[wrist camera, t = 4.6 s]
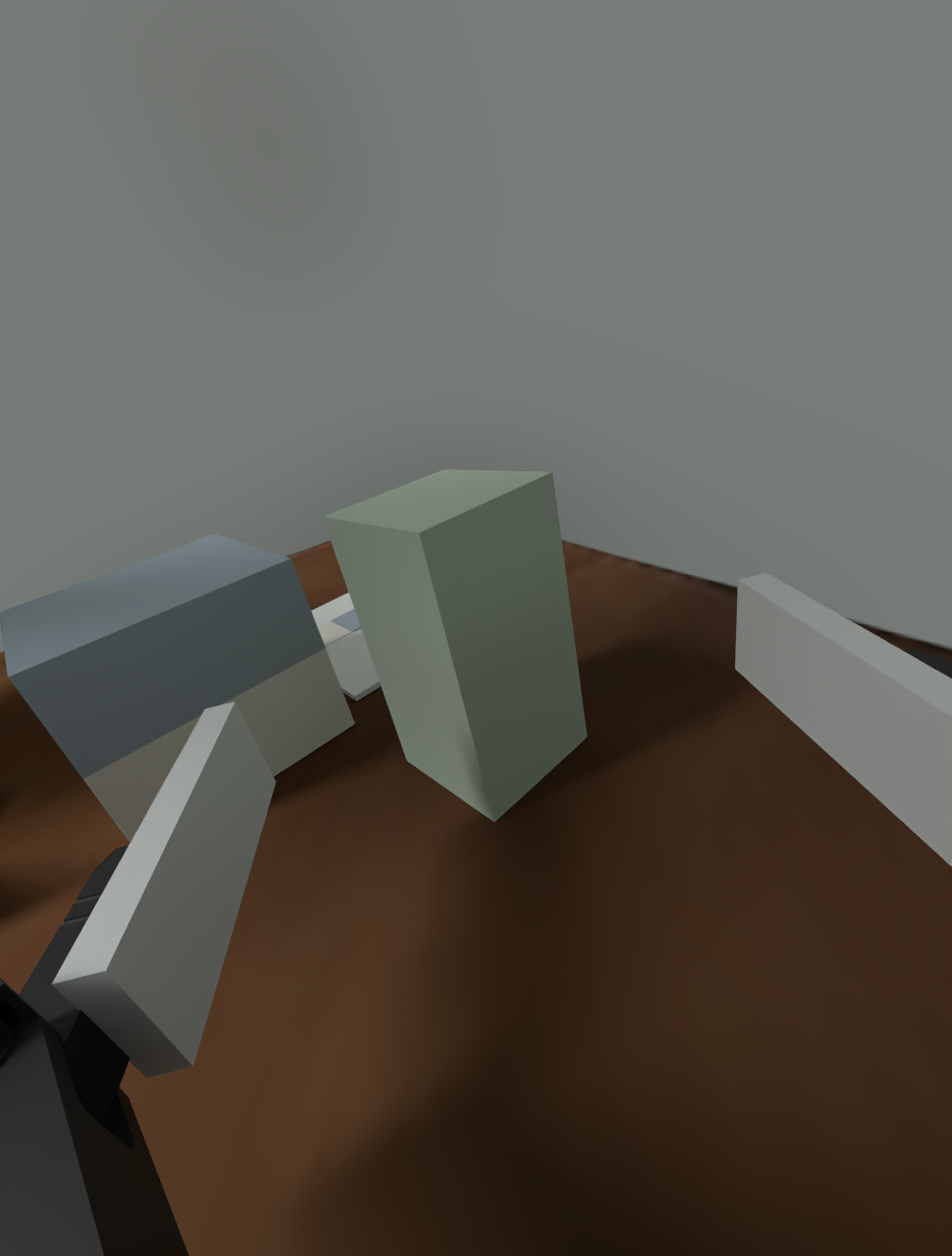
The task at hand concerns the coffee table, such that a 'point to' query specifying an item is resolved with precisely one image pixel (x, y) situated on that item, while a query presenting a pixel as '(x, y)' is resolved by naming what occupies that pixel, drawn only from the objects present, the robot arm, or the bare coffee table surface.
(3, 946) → the coffee table surface
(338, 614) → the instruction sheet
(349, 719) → the tower base
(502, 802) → the top brick
